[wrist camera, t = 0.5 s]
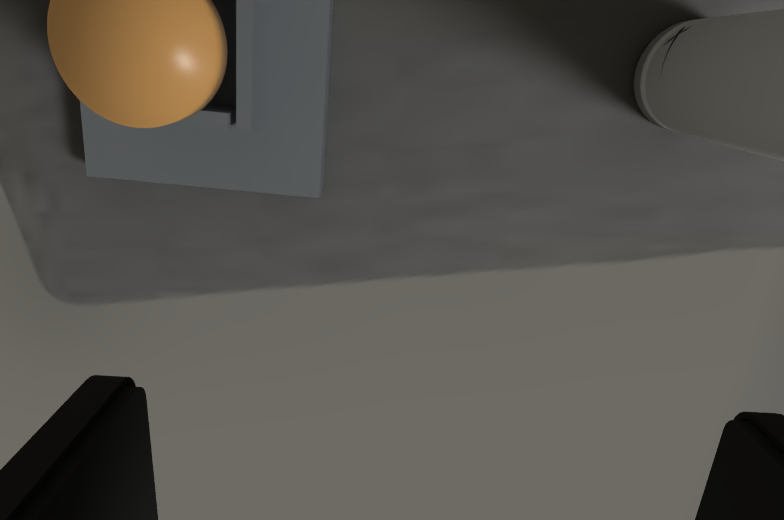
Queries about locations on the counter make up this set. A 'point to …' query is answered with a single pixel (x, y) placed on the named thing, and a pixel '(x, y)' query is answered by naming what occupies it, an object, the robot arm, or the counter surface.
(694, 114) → the travel mug
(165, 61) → the knob
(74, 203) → the counter surface
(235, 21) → the console
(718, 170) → the counter surface
